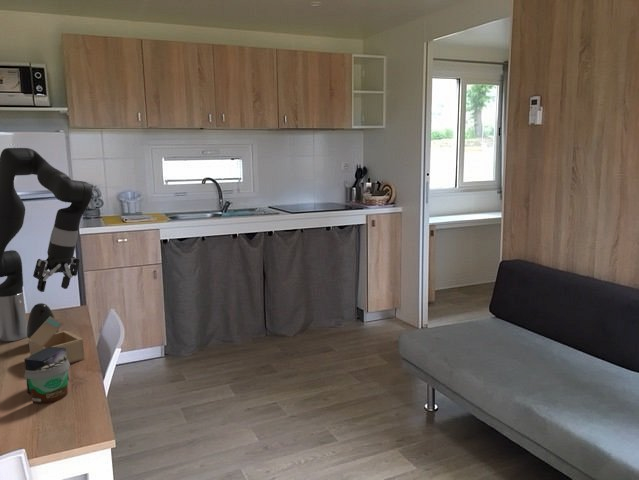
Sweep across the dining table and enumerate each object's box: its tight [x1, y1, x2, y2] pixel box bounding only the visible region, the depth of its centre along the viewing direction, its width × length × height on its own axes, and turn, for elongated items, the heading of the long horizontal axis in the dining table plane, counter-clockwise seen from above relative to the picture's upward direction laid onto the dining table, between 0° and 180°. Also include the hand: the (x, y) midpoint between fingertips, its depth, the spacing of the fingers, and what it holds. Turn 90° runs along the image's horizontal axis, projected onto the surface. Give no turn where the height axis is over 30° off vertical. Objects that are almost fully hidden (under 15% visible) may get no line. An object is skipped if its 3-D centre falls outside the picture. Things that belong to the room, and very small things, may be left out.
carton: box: [27, 330, 85, 365], centre depth 178 cm, size 15×13×7 cm
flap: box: [28, 316, 64, 347], centre depth 175 cm, size 11×1×9 cm
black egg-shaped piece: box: [26, 302, 60, 340], centre depth 192 cm, size 10×10×15 cm
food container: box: [23, 357, 71, 405], centre depth 148 cm, size 12×6×10 cm, turn 148°
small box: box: [23, 347, 70, 394], centre depth 157 cm, size 11×6×10 cm, turn 168°
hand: (52, 289), depth 169 cm, fingers open, 8 cm apart
